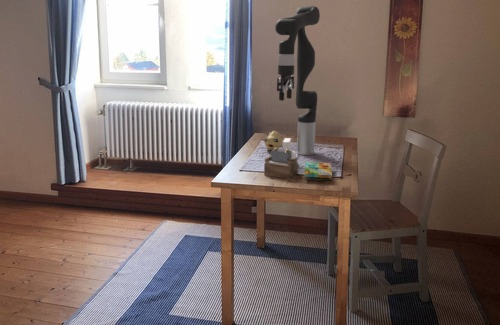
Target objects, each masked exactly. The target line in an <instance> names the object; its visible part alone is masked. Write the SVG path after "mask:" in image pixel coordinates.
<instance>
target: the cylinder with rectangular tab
mask: <svg viewBox="0 0 500 325" xmlns="http://www.w3.org/2000/svg"><path fill="white" fill-rule="evenodd" d="M291 145H292V138H291V137H290V138H289V137H288V138H287V137H285V138H283V143H282V149H284V150H285V149H289V150H292V146H291ZM296 154H297V151H295V150H292V154H291V159H293V158H295V157H297V156H296Z"/></svg>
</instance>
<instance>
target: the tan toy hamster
mask: <svg viewBox="0 0 500 325" xmlns="http://www.w3.org/2000/svg"><path fill="white" fill-rule="evenodd" d="M283 141H284V139H283V137H282V135H281V134H280V133H279V132H278V131H276V130H272V131H271V132H270V133H269V134H268V135H267V137H265V138H264V145H265V147H266V150H267V151H269V150H270V151H271V150H273V149H274V148H278V149H281V147H282V146H283Z"/></svg>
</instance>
